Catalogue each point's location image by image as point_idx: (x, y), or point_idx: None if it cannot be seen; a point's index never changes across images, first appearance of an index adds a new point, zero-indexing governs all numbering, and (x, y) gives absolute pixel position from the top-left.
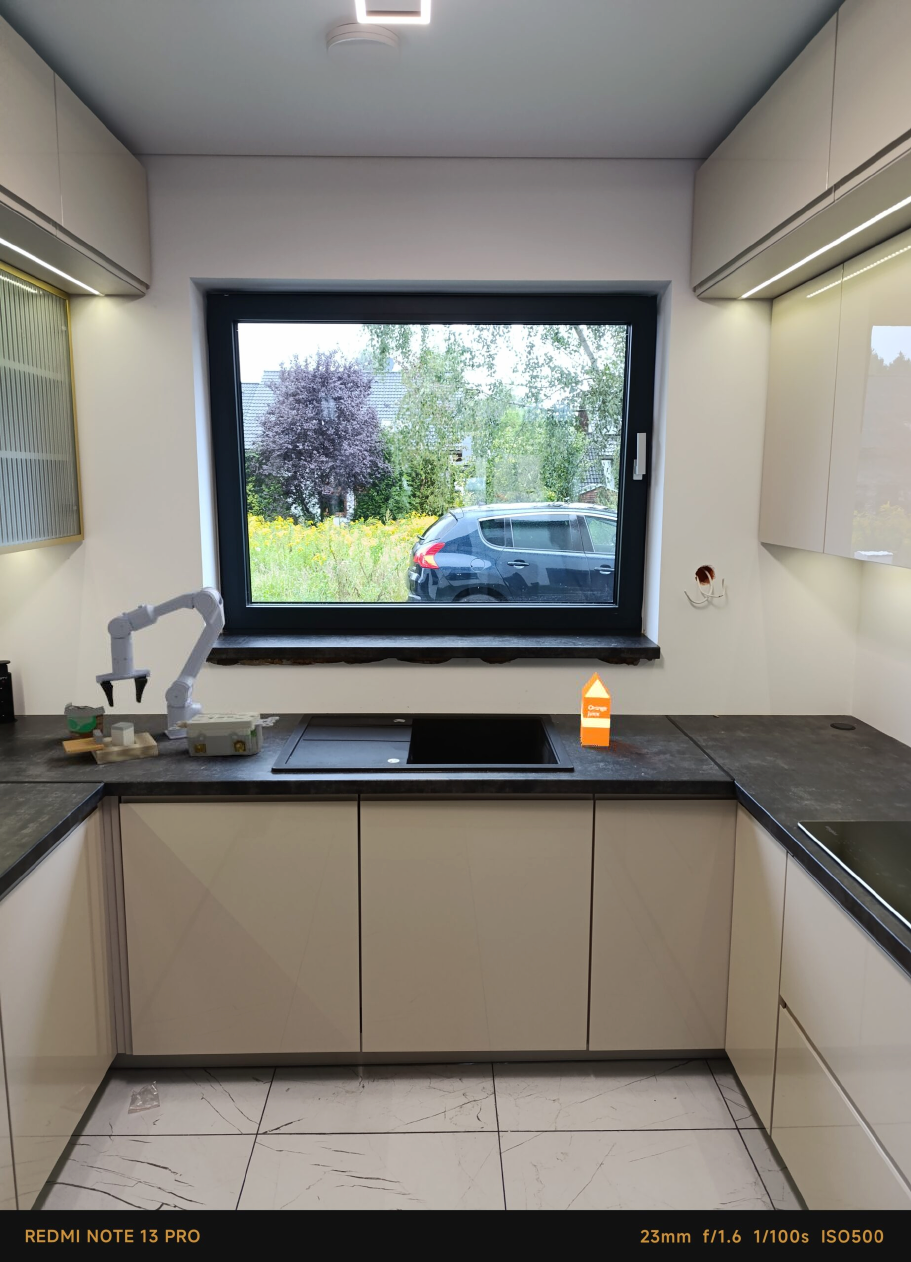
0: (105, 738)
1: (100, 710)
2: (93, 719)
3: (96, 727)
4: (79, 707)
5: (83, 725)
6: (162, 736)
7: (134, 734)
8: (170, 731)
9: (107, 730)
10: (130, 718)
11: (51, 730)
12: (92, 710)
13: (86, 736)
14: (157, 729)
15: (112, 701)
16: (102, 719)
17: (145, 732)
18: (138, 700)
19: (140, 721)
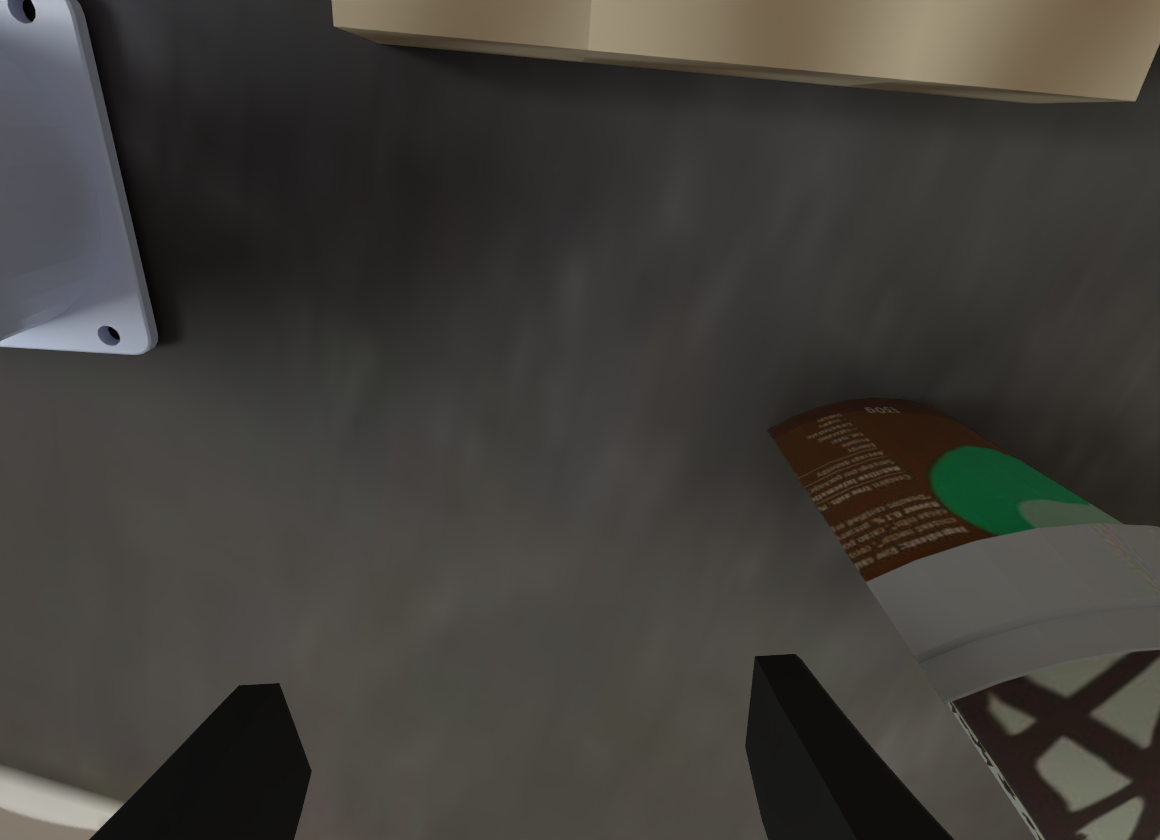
0: (954, 45)
1: (988, 606)
2: (1015, 517)
3: (906, 464)
4: (1129, 838)
5: (1079, 499)
6: (190, 214)
7: (539, 9)
8: (30, 124)
9: (641, 649)
10: (415, 820)
11: (953, 796)
12: (1155, 608)
13: (962, 429)
14: (234, 487)
15: (822, 741)
16: (855, 539)
17: (366, 28)
18: (254, 730)
19: (356, 740)
